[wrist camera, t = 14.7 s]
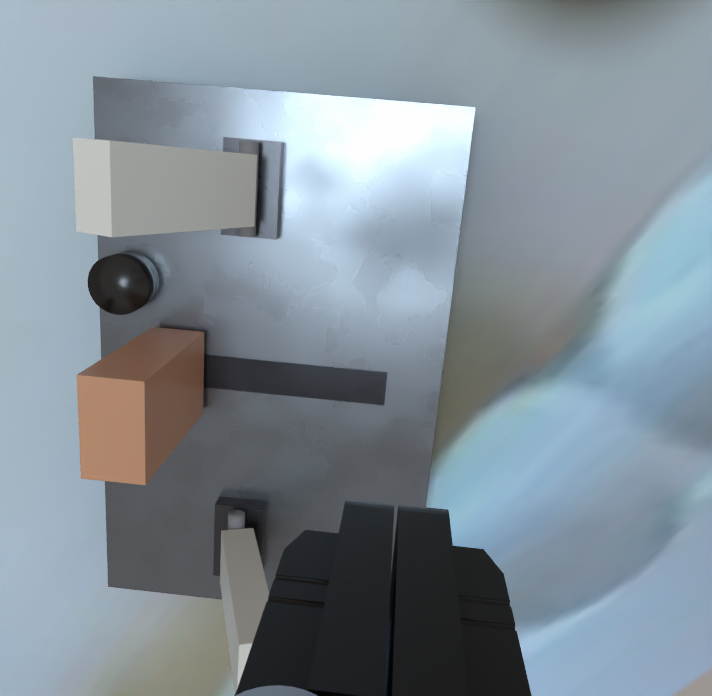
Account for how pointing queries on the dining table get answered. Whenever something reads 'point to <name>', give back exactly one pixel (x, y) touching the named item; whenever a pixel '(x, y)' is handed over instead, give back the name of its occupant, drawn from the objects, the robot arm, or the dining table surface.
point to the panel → (287, 319)
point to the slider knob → (139, 404)
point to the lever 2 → (241, 589)
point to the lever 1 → (163, 188)
